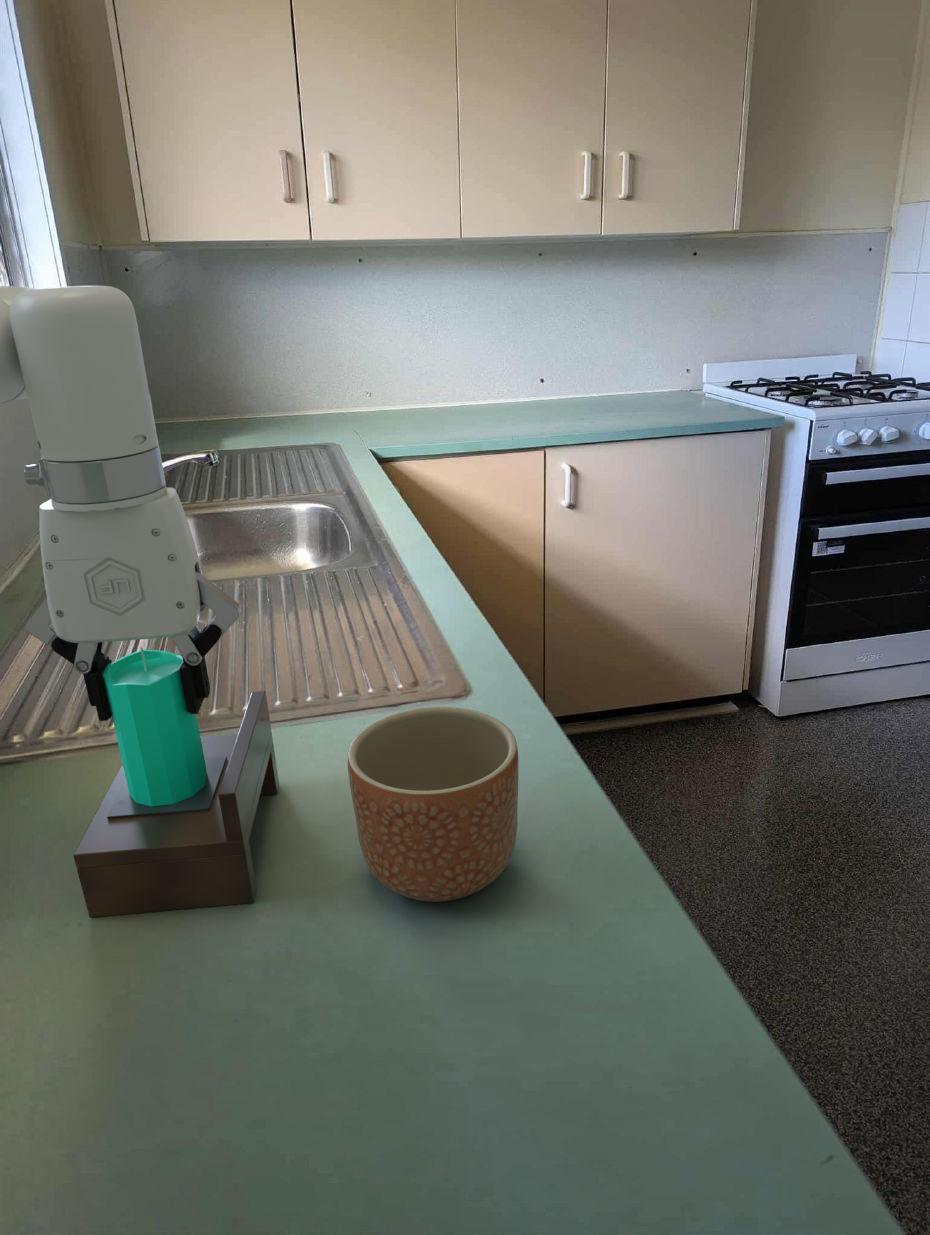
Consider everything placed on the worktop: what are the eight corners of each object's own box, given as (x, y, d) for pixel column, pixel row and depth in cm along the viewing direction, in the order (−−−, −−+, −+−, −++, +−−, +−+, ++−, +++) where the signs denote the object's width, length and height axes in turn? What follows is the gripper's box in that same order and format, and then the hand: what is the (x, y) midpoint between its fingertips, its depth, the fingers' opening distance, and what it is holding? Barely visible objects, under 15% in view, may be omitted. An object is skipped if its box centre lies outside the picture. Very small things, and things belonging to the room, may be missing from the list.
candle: (126, 775, 71) (97, 640, 67) (202, 757, 73) (178, 625, 69) (131, 814, 66) (99, 671, 61) (212, 793, 68) (187, 654, 64)
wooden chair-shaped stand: (89, 917, 64) (60, 807, 60) (145, 795, 79) (125, 701, 75) (254, 903, 65) (235, 793, 61) (279, 784, 80) (265, 690, 76)
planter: (461, 803, 75) (455, 690, 71) (554, 878, 66) (553, 752, 62) (332, 860, 69) (317, 739, 65) (414, 951, 59) (402, 817, 55)
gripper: (-47, 499, 56) (19, 743, 63) (223, 482, 57) (260, 724, 64) (1, 473, 63) (56, 695, 70) (241, 458, 64) (273, 679, 71)
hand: (153, 707), depth 67 cm, fingers closed on candle, 5 cm apart
